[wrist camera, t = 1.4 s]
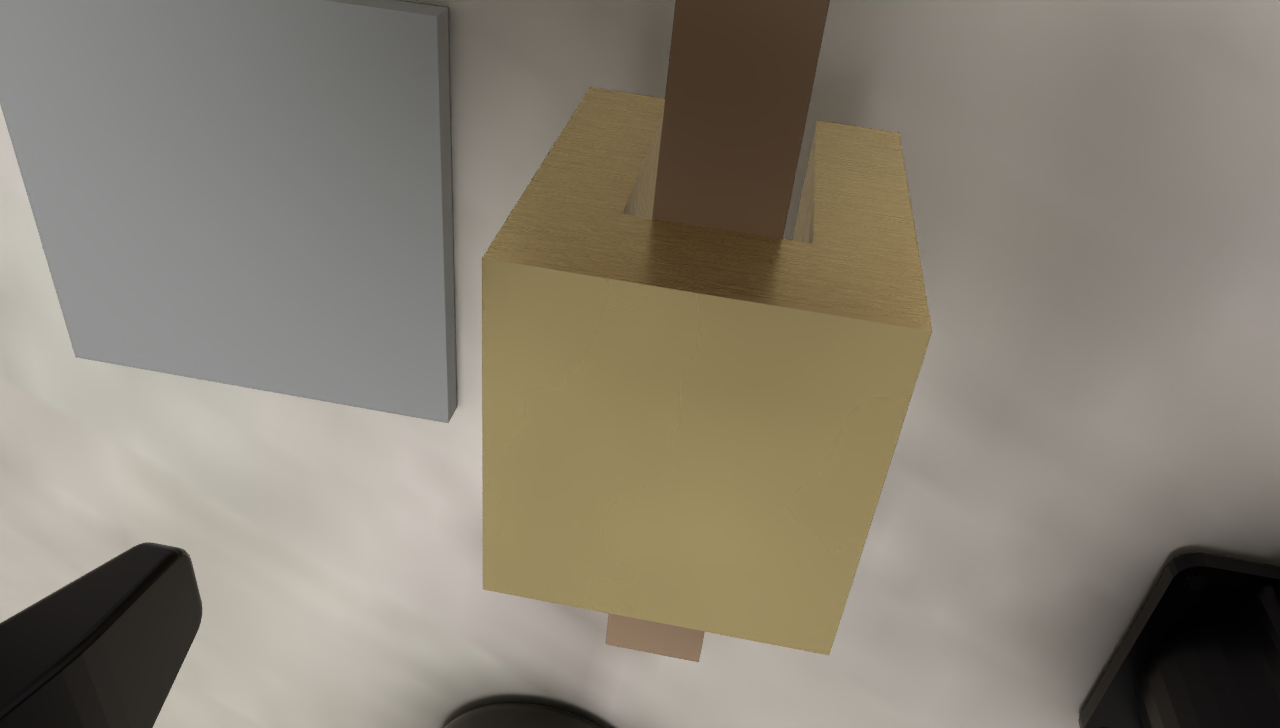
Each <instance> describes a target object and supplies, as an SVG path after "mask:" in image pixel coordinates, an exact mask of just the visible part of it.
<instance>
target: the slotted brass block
mask: <svg viewBox="0 0 1280 728" xmlns="http://www.w3.org/2000/svg"><path fill="white" fill-rule="evenodd" d="M664 105H665V98H659V97H653V96H646V95H639V94H632V93H625V92H618V91H612V90H605V89H598V88H591V87H590V88H589V90H588V92H587V93H586V95H585V96H584V98H583V99H582V101H581V103H580V104H579V106H578V107H577V109H576V111H575V112H574V114H573V115H572V117H571V118H570V120H569V122H568V123H567V125H566V126H565V128H564V129H563V131H562V133H561V134H560V136H559V137H558V139H557V141H556V142H555V144H554V145H553V147H552V148H551V150H550V152H549V153H548V155H547V156H546V158H545V160H544V161H543V163H542V164H541V166H540V167H539V169H538V171H537V172H536V174H535V175H534V177H533V179H532V180H531V182H530V183H529V185H528V186H527V188H526V190H525V191H524V193H523V194H522V196H521V197H520V199H519V201H518V202H517V204H516V205H515V207H514V209H513V210H512V212H511V213H510V215H509V216H508V218H507V220H506V221H505V223H504V224H503V226H502V228H501V229H500V231H499V232H498V234H497V235H496V237H495V239H494V240H493V242H492V243H491V245H490V247H489V248H488V250H487V251H486V253H485V254H484V256H483V258H482V420H483V589H484V590H490V591H495V592H500V593H505V594H511V595H516V596H521V597H526V598H532V599H537V600H542V601H547V602H552V603H558V604H563V605H568V606H573V607H579V608H584V609H589V610H594V611H600V612H605V613H610V614H615V615H621V616H626V617H631V618H636V619H642V620H647V621H652V622H657V623H663V624H668V625H673V626H678V627H684V628H689V629H694V630H699V631H705V632H710V633H715V634H720V635H726V636H731V637H736V638H741V639H747V640H752V641H757V642H762V643H768V644H773V645H778V646H783V647H789V648H794V649H799V650H804V651H810V652H815V653H820V654H825V655H829V654H830V651H831V648H832V645H833V642H834V638H835V635H836V632H837V629H838V626H839V623H840V620H841V616H842V613H843V610H844V607H845V604H846V601H847V598H848V594H849V591H850V588H851V585H852V582H853V579H854V575H855V572H856V569H857V566H858V563H859V560H860V557H861V553H862V550H863V547H864V544H865V541H866V538H867V535H868V531H869V528H870V525H871V522H872V519H873V516H874V512H875V509H876V506H877V503H878V500H879V497H880V494H881V490H882V487H883V484H884V481H885V478H886V475H887V472H888V468H889V465H890V462H891V459H892V456H893V453H894V449H895V446H896V443H897V440H898V437H899V434H900V431H901V427H902V424H903V421H904V418H905V415H906V412H907V409H908V405H909V402H910V399H911V396H912V393H913V390H914V386H915V383H916V380H917V377H918V374H919V371H920V368H921V364H922V361H923V358H924V355H925V352H926V349H927V346H928V342H929V339H930V336H931V333H932V328H931V322H930V316H929V310H928V304H927V298H926V292H925V286H924V280H923V274H922V268H921V262H920V256H919V250H918V244H917V238H916V232H915V226H914V220H913V214H912V208H911V202H910V196H909V190H908V184H907V178H906V172H905V166H904V160H903V154H902V148H901V142H900V136H899V133H898V132H891V131H885V130H878V129H871V128H864V127H857V126H851V125H844V124H837V123H830V122H823V121H817V122H816V127H815V132H814V137H813V142H812V147H811V151H810V156H809V161H808V166H807V171H806V176H805V181H804V186H803V190H802V195H801V200H800V205H799V210H798V215H797V220H796V225H795V229H794V234H793V239H792V240H785V239H779V238H772V237H766V236H760V235H753V234H747V233H741V232H734V231H728V230H721V229H715V228H709V227H702V226H696V225H690V224H683V223H677V222H670V221H664V220H658V219H652V214H653V205H654V196H655V187H656V178H657V169H658V160H659V150H660V141H661V132H662V123H663V114H664Z"/></svg>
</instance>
